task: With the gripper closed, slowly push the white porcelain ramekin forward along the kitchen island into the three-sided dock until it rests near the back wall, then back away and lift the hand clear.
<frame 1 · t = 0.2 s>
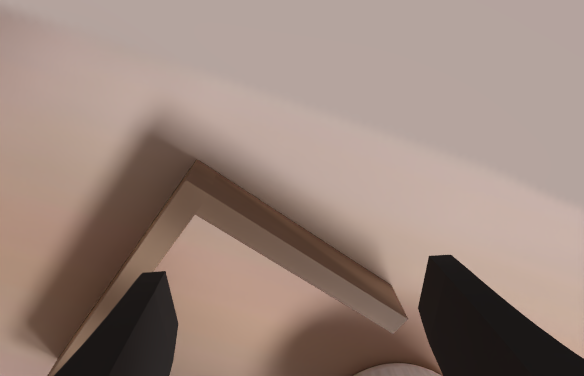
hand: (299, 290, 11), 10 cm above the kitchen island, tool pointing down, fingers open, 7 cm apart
dock: (234, 329, 24), on the kitchen island
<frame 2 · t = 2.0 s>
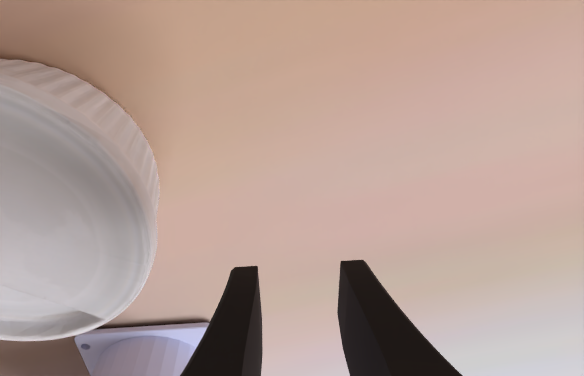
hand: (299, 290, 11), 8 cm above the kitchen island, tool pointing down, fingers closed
ramekin: (54, 163, 18), on the kitchen island
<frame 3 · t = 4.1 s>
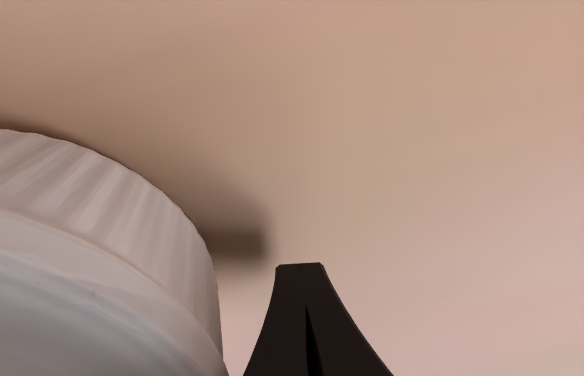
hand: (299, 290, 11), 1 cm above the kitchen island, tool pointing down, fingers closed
ramekin: (59, 263, 12), on the kitchen island, touching gripper
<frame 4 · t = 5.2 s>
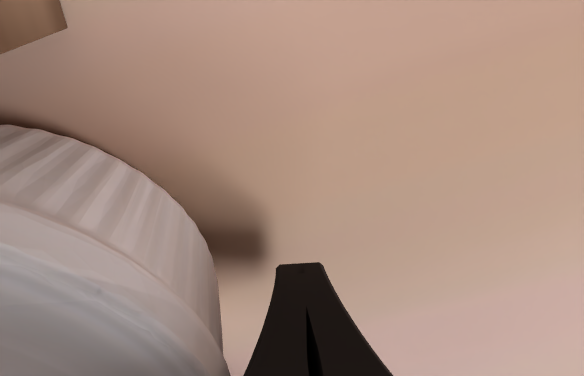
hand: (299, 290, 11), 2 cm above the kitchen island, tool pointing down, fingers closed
ramekin: (59, 260, 12), on the kitchen island, touching gripper
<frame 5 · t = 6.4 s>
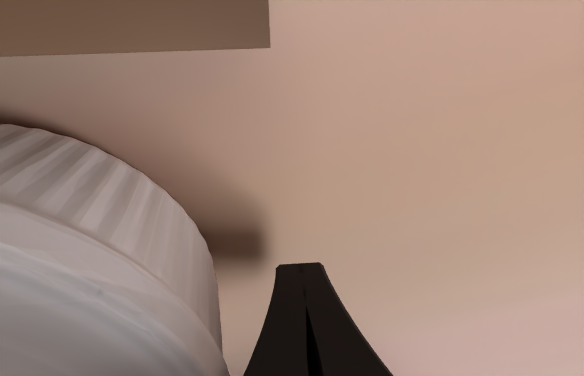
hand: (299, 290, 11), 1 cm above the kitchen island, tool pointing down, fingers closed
dock: (80, 266, 12), on the kitchen island
ramekin: (58, 260, 12), on the kitchen island, touching gripper
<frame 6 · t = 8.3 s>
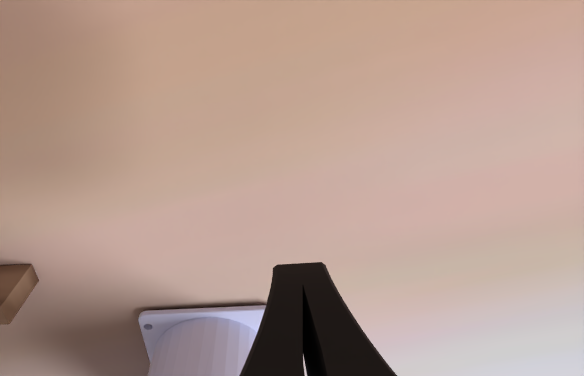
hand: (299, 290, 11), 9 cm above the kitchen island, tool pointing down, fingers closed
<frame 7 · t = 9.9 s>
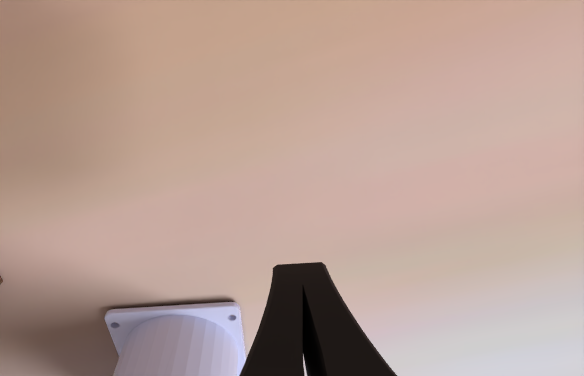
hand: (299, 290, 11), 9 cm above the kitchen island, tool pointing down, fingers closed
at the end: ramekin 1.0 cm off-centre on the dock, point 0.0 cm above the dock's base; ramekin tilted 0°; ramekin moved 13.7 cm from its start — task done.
